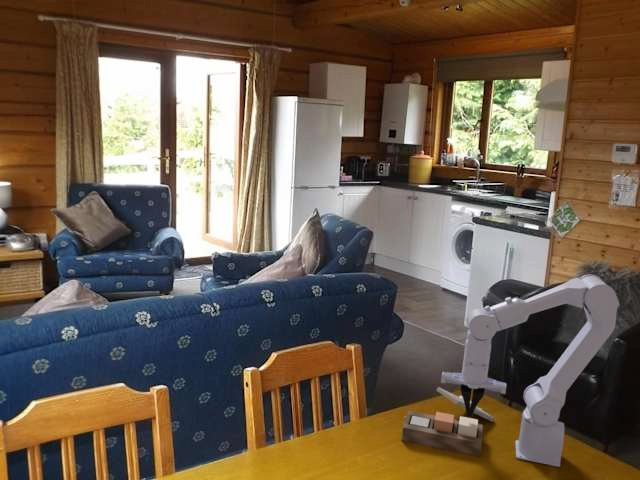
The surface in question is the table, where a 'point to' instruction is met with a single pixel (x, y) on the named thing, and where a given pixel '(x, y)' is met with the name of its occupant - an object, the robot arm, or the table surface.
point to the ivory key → (468, 426)
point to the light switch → (460, 402)
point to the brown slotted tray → (441, 436)
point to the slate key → (420, 422)
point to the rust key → (443, 422)
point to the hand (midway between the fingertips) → (469, 415)
